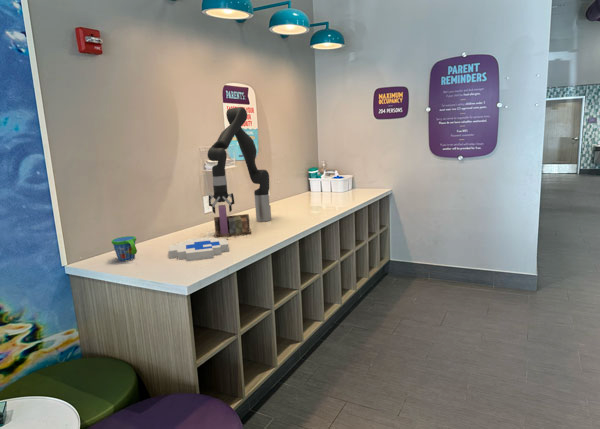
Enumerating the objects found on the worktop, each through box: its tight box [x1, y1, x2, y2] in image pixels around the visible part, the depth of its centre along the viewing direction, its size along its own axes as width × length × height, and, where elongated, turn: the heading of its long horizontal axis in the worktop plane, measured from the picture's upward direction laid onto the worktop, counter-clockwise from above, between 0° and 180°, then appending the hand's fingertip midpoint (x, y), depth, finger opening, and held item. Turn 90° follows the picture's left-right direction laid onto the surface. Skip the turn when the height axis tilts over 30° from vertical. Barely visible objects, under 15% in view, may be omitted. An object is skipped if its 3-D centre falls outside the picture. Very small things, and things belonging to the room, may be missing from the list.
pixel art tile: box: [168, 236, 230, 262], centre depth 207 cm, size 28×4×28 cm
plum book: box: [217, 204, 228, 234], centre depth 238 cm, size 4×10×15 cm, turn 12°
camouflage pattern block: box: [213, 213, 252, 239], centre depth 241 cm, size 20×12×10 cm, turn 102°
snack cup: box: [111, 235, 138, 262], centre depth 199 cm, size 16×10×10 cm
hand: (222, 212), depth 238 cm, fingers open, 8 cm apart
